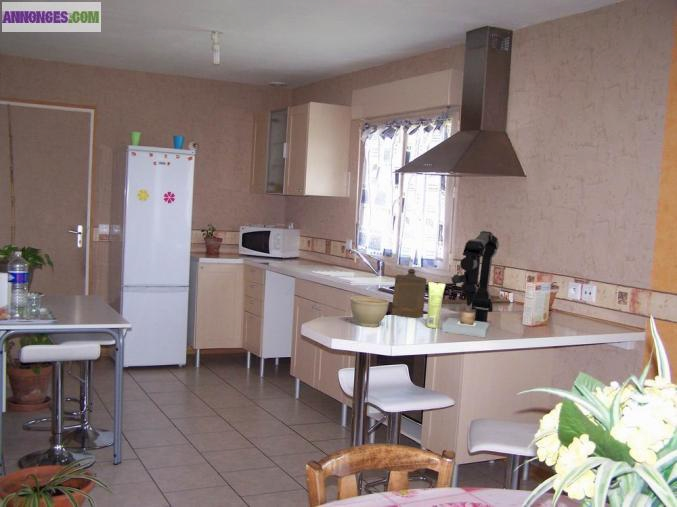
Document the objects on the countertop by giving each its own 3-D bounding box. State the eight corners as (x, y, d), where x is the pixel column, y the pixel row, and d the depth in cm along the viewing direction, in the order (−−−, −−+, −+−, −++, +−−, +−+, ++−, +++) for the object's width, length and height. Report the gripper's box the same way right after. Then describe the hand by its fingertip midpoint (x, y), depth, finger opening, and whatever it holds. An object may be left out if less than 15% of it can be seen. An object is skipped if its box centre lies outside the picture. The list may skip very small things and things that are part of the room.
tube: (431, 325, 311) (436, 281, 310) (441, 327, 308) (445, 283, 306) (423, 326, 307) (428, 282, 306) (433, 328, 304) (438, 283, 302)
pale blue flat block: (448, 323, 320) (449, 317, 320) (489, 329, 316) (489, 322, 315) (441, 331, 299) (442, 324, 299) (484, 337, 294) (485, 330, 294)
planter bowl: (343, 320, 304) (346, 295, 303) (379, 322, 308) (382, 297, 307) (354, 328, 288) (356, 301, 287) (391, 329, 292) (394, 303, 291)
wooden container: (415, 312, 345) (420, 268, 343) (427, 318, 331) (432, 271, 329) (387, 311, 341) (391, 266, 339) (397, 317, 327) (402, 269, 325)
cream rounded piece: (460, 328, 311) (462, 310, 310) (473, 330, 309) (475, 312, 309) (458, 330, 305) (460, 312, 305) (472, 332, 304) (474, 314, 303)
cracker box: (536, 323, 348) (541, 280, 346) (547, 325, 344) (552, 282, 342) (520, 324, 338) (525, 281, 337) (531, 327, 334) (536, 283, 332)
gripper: (456, 266, 317) (452, 300, 318) (451, 268, 299) (447, 305, 300) (481, 268, 314) (477, 303, 315) (477, 272, 296) (473, 309, 297)
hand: (468, 305), depth 307 cm, fingers closed
